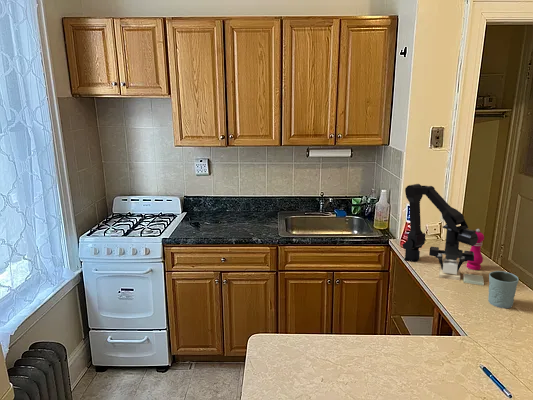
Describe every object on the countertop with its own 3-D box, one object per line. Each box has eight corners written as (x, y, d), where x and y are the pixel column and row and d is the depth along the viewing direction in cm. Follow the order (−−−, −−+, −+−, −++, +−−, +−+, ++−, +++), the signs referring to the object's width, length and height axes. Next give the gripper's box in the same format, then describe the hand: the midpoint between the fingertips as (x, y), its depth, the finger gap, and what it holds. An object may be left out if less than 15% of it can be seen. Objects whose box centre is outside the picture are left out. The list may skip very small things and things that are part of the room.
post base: (438, 277, 183) (439, 266, 182) (439, 269, 191) (440, 259, 190) (459, 280, 179) (461, 269, 178) (459, 272, 187) (460, 261, 186)
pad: (463, 282, 177) (463, 280, 177) (463, 275, 184) (463, 273, 184) (483, 285, 174) (483, 283, 174) (482, 277, 181) (482, 276, 181)
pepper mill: (483, 271, 188) (488, 231, 183) (467, 270, 189) (472, 230, 184) (479, 265, 195) (483, 226, 190) (463, 264, 196) (467, 226, 191)
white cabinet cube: (442, 272, 183) (443, 263, 182) (442, 267, 188) (443, 258, 187) (456, 274, 181) (457, 265, 180) (456, 269, 186) (457, 260, 185)
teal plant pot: (513, 299, 161) (516, 273, 158) (516, 311, 152) (520, 283, 149) (485, 295, 165) (488, 269, 162) (486, 306, 157) (490, 279, 154)
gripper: (429, 242, 177) (427, 274, 181) (476, 247, 170) (472, 280, 174) (431, 234, 187) (428, 265, 191) (475, 239, 180) (471, 271, 183)
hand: (449, 270), depth 185 cm, fingers closed on white cabinet cube, 6 cm apart
